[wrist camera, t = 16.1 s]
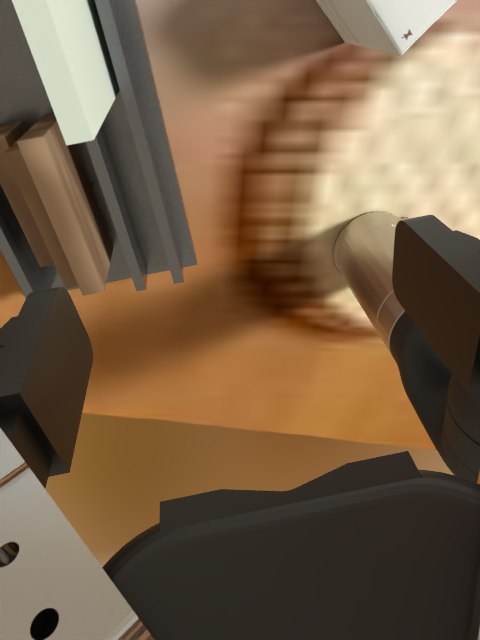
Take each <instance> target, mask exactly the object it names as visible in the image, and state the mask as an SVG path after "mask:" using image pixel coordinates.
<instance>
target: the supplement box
mask: <svg viewBox="0 0 480 640" xmlns="http://www.w3.org/2000/svg"><path fill="white" fill-rule="evenodd" d="M456 1H457V0H316V2H317V3H318V4H319V6H320V7H321V9H322V10H323V12H324V13H325V15H326V16H327V17H328V19H329V20H330V22H331V23H332V25H333V26H334V27H335V29H336V30H337V32H338V33H339V35H340V36H341V38H342V39H343V40H344V42H345V43H348V44H353V45H357V46H361V47H366V48H370V49H374V50H379V51H383V52H387V53H392V54H396V55H400V56H401V55H403V54H404V53H405V52H406V51H407V50H408V48H409V47H410V46H411V45H412V44H413V43H414V42H415V41H416V40H417V39H418V38H419V37H420V36H421V35H422V34H423V33H424V32H425V31H426V30H427V29H428V28H429V27H430V26H431V25H432V24H433V23H434V22H435V21H436V20H437V19H438V18H439V17H440V16H441V15H442V14H443V13H444V12H445V11H446V10H448V9H449V8H450V7H451V6H452V5H453V4H454V3H455V2H456Z"/></svg>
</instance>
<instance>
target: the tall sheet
mask: <svg viewBox="0 0 480 640" xmlns="http://www.w3.org/2000/svg"><path fill="white" fill-rule="evenodd" d="M12 2H13V5H14V7H15V10H16V13H17V15H18V18H19V21H20V23H21V26H22V29H23V31H24V34H25V37H26V39H27V42H28V45H29V47H30V50H31V53H32V55H33V58H34V61H35V63H36V66H37V69H38V71H39V74H40V77H41V79H42V82H43V85H44V87H45V90H46V92H47V95H48V98H49V100H50V103H51V106H52V108H53V111H54V114H55V116H56V119H57V122H58V124H59V127H60V130H61V132H62V135H63V138H64V140H65V143H66V146H67V145H72V144H77V143H82V142H87V141H92V140H94V139H95V137H96V135H97V133H98V131H99V129H100V127H101V125H102V123H103V121H104V119H105V117H106V116H107V114H108V112H109V110H110V108H111V106H112V104H113V102H114V100H115V98H116V96H117V94H118V93H119V91H120V89H119V85H118V82H117V78H116V74H115V71H114V67H113V64H112V60H111V57H110V53H109V49H108V46H107V42H106V39H105V35H104V32H103V28H102V25H101V21H100V17H99V14H98V10H97V7H96V3H95V0H12Z"/></svg>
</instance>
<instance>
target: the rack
mask: <svg viewBox="0 0 480 640" xmlns="http://www.w3.org/2000/svg"><path fill="white" fill-rule="evenodd" d="M95 3H96V7H97V10H98V14H99V17H100V21H101V25H102V28H103V32H104V35H105V39H106V42H107V46H108V49H109V53H110V57H111V60H112V64H113V67H114V71H115V74H116V78H117V82H118V85H119V89H120V91H119V93H118V94H117V96H116V98H115V100H114V102H113V104H112V106H111V108H110V110H109V112H108V114H107V116H106V117H105V119H104V121H103V123H102V125H101V127H100V129H99V131H98V133H97V135H96V137H95V139H94V140H92V141H87V142H82V143H77V147H78V150H79V153H80V155H81V158H82V161H83V164H84V167H85V169H86V172H87V175H88V178H89V181H90V184H91V186H92V189H93V192H94V195H95V198H96V200H97V203H98V206H99V209H100V212H101V214H102V217H103V220H104V223H105V226H106V228H107V231H108V234H109V237H110V240H111V243H112V245H113V252H112V257H111V262H110V266H109V271H108V275H107V280H106V282H111V281H116V280H121V279H126V278H131V277H132V279H133V282H134V285H135V288H136V291H140V290H145V289H146V283H147V274H152V273H157V272H162V271H167V270H170V271H171V274H172V278H173V281H174V284H176V283H181V282H184V281H183V267H187V266H192V265H197V259H196V255H195V250H194V246H193V242H192V238H191V233H190V229H189V225H188V221H187V216H186V212H185V208H184V204H183V200H182V195H181V191H180V187H179V183H178V178H177V174H176V170H175V166H174V161H173V157H172V153H171V149H170V144H169V140H168V136H167V132H166V127H165V123H164V119H163V115H162V111H161V106H160V102H159V98H158V94H157V89H156V85H155V81H154V77H153V72H152V68H151V64H150V60H149V55H148V51H147V47H146V43H145V38H144V34H143V30H142V26H141V21H140V17H139V13H138V9H137V5H136V0H95ZM51 114H54V111H53V108H52V106H51V103H50V100H49V98H48V95H47V92H46V90H45V87H44V85H43V82H42V79H41V77H40V74H39V71H38V69H37V66H36V63H35V61H34V58H33V55H32V53H31V50H30V47H29V45H28V42H27V39H26V37H25V34H24V31H23V29H22V26H21V23H20V21H19V18H18V15H17V13H16V10H15V7H14V5H13V2H12V0H0V124H4V123H9V122H14V121H20V120H22V122H23V125H24V127H25V130H26V132H27V131H28V130H29V129H30V128H31V127H32V126H33V125H34V124H35V123H36V122H38V121H39V120H40V119H41V118H42V117H43V116H46V115H51ZM0 250H1V252H2V254H3V256H4V258H5V260H6V262H7V264H8V265H9V267H10V269H11V271H12V273H13V275H14V277H15V279H16V281H17V283H18V284H19V286H20V288H21V290H22V292H23V294H24V296H25V298H27V296H28V294H29V293H32V292H37V291H42V290H47V289H52V288H57V287H64V288H65V286H64V284H63V281H62V279H61V277H60V275H59V273H58V270H57V268H56V266H55V264H54V265H49V266H44V267H40V265H39V263H38V261H37V259H36V257H35V255H34V253H33V251H32V249H31V247H30V244H29V242H28V240H27V238H26V236H25V234H24V232H23V230H22V228H21V226H20V224H19V221H18V219H17V217H16V215H15V213H14V211H13V209H12V207H11V205H10V203H9V201H8V198H7V196H6V194H5V192H4V190H3V188H2V186H1V184H0ZM76 288H79V286H76V287H71V288H65V289H66V290H71V289H76Z"/></svg>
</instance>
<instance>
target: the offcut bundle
mask: <svg viewBox="0 0 480 640" xmlns="http://www.w3.org/2000/svg"><path fill="white" fill-rule="evenodd" d="M0 184H1V186H2V188H3V190H4V192H5V194H6V196H7V198H8V201H9V203H10V205H11V207H12V209H13V211H14V213H15V215H16V217H17V219H18V221H19V224H20V226H21V228H22V230H23V232H24V234H25V236H26V238H27V240H28V242H29V244H30V247H31V249H32V251H33V253H34V255H35V257H36V259H37V261H38V263H39V265H40V267H44V266H49V265H54V264H55V266H56V268H57V270H58V273H59V275H60V277H61V279H62V281H63V284H64V286H65V288H71V287H76V286H79V288H80V290H81V292H82V294H83V295H88V294H93V293H98V292H103V291H104V289H105V285H106V280H107V275H108V271H109V266H110V262H111V257H112V252H113V245H112V243H111V240H110V237H109V234H108V231H107V228H106V226H105V223H104V220H103V217H102V214H101V212H100V209H99V206H98V203H97V200H96V198H95V195H94V192H93V189H92V186H91V184H90V181H89V178H88V175H87V172H86V169H85V167H84V164H83V161H82V158H81V155H80V153H79V150H78V147H77V144H72V145H67V146H66V143H65V140H64V138H63V135H62V132H61V130H60V127H59V124H58V122H57V119H56V116H55V114H51V115H46V116H43V117H42V118H41V119H40V120H39V121H38V122H36V123H35V124H34V125H33V126H32V127H31V128H30V129H29V130H28V131H27V132H26V130H25V127H24V125H23V122H22V120H20V121H14V122H9V123H4V124H0Z"/></svg>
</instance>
